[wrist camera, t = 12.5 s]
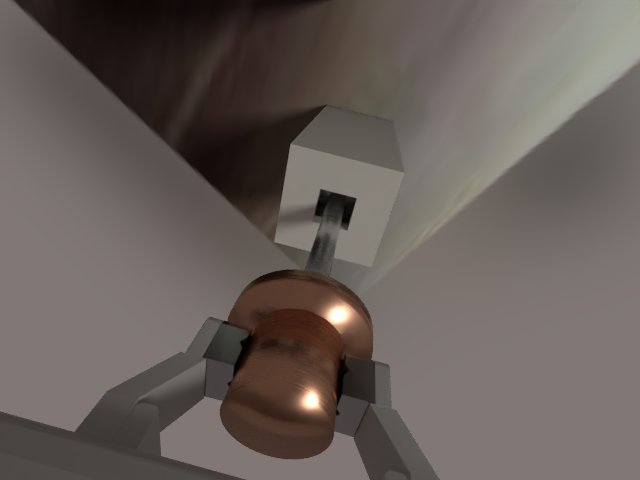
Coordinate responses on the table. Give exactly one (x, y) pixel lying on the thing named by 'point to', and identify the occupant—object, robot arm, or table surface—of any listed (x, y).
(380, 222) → the block
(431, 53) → the table surface
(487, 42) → the table surface
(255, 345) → the terracotta plunger
